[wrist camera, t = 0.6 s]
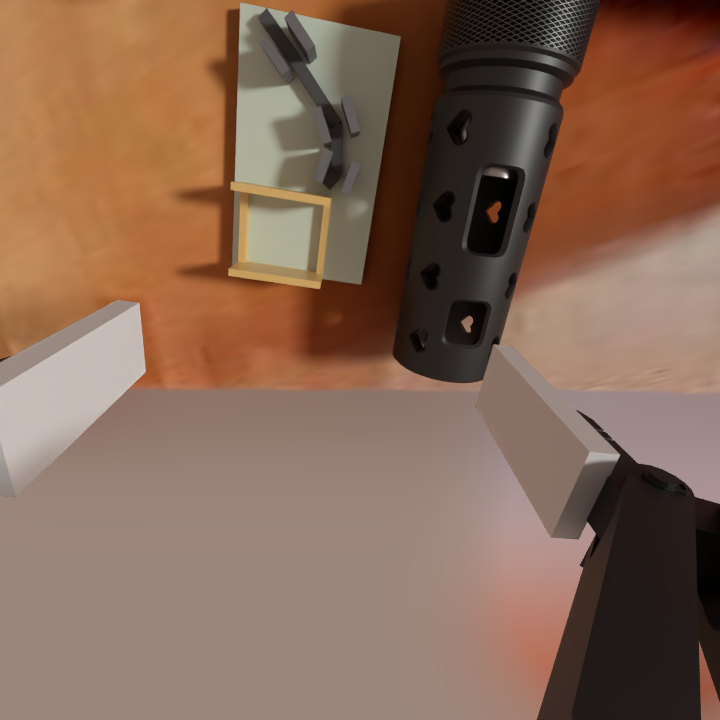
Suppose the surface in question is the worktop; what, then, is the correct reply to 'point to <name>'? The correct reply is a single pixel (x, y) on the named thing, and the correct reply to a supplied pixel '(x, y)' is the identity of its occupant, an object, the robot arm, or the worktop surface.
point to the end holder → (272, 271)
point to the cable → (314, 92)
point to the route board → (310, 139)
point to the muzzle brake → (484, 174)
